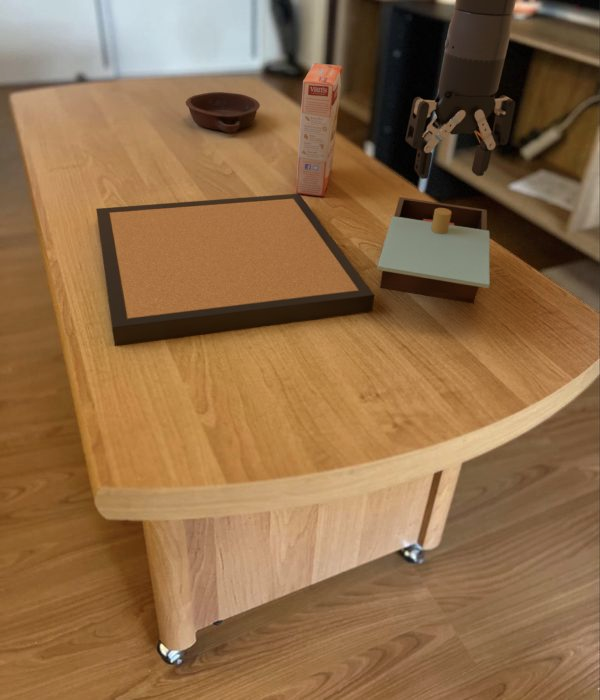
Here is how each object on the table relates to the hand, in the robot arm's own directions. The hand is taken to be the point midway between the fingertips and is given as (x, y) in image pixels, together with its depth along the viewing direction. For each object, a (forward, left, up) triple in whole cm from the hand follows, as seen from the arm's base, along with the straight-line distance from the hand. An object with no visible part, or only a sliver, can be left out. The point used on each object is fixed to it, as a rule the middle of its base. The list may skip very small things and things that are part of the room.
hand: (450, 175), depth 89 cm
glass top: (0, +8, -8) cm, 11 cm away
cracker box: (+25, -30, -17) cm, 43 cm away
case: (0, -2, -16) cm, 17 cm away
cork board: (+32, +7, -17) cm, 36 cm away
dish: (+54, -58, -17) cm, 81 cm away
